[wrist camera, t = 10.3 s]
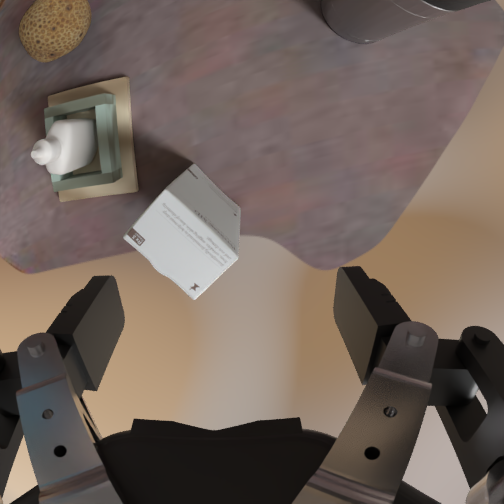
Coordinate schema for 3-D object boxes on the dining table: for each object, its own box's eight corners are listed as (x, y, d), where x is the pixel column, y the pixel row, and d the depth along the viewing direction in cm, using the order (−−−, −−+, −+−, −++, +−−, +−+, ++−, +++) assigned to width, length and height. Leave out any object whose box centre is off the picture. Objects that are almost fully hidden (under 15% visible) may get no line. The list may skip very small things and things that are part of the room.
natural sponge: (76, 77, 31) (34, 69, 21) (34, 50, 28) (-10, 41, 19) (119, 17, 28) (88, -9, 19) (73, -6, 25) (37, -30, 16)
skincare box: (241, 207, 39) (248, 259, 25) (207, 240, 40) (196, 305, 27) (191, 159, 36) (167, 185, 23) (157, 195, 38) (119, 240, 24)
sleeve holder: (51, 96, 31) (33, 95, 27) (129, 77, 31) (116, 73, 27) (63, 200, 37) (47, 209, 32) (138, 190, 37) (128, 199, 33)
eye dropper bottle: (63, 149, 33) (7, 165, 22) (88, 112, 32) (34, 114, 21) (86, 169, 34) (35, 193, 24) (112, 133, 33) (65, 142, 22)
